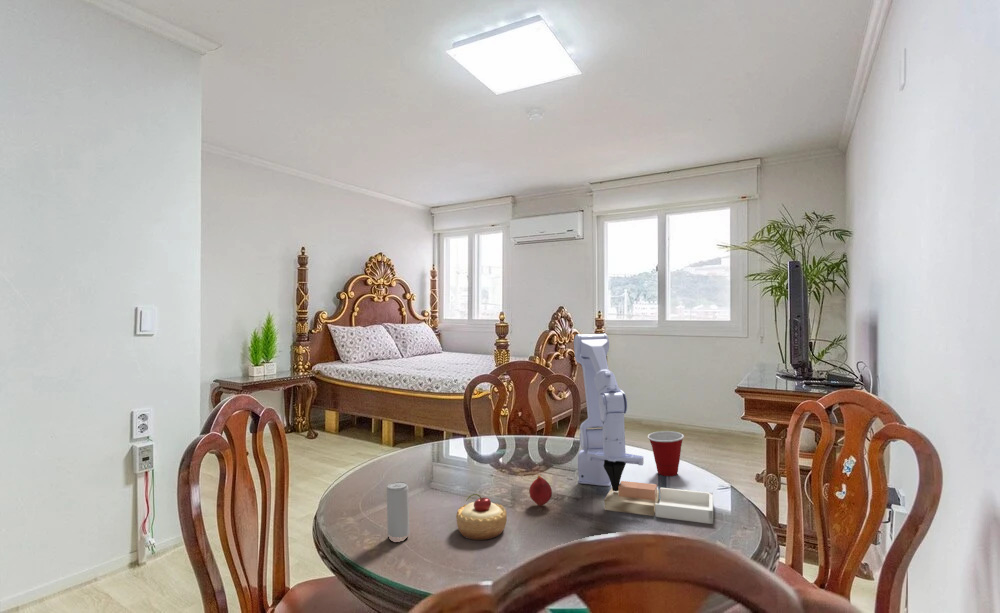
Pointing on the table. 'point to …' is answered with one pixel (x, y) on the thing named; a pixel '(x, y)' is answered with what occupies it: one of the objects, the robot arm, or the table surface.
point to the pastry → (481, 519)
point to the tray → (685, 505)
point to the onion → (540, 491)
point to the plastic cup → (666, 451)
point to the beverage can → (397, 509)
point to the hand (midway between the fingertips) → (615, 489)
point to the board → (630, 504)
